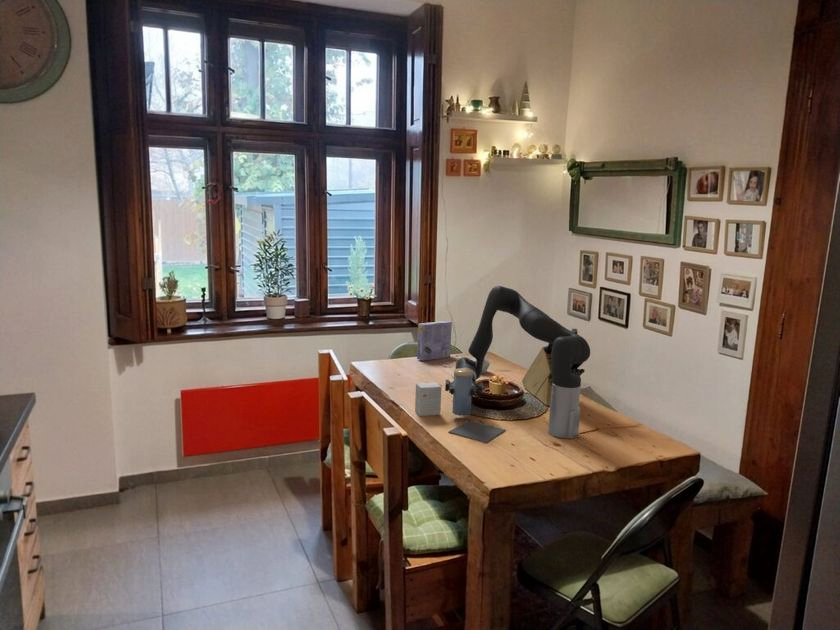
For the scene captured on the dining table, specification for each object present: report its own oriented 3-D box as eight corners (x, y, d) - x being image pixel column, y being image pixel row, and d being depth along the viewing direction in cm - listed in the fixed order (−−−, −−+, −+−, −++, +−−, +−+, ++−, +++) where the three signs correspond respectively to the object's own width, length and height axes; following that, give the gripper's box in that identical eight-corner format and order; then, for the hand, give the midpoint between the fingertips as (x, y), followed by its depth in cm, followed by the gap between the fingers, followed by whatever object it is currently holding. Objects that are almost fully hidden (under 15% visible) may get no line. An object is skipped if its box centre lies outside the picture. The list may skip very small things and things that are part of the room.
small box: (435, 409, 229) (436, 381, 228) (440, 414, 224) (442, 386, 222) (414, 411, 227) (415, 383, 225) (419, 416, 222) (420, 387, 220)
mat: (505, 430, 211) (505, 429, 211) (486, 443, 200) (486, 441, 200) (469, 421, 219) (469, 420, 219) (448, 432, 207) (448, 431, 207)
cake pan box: (445, 354, 313) (447, 319, 310) (452, 356, 309) (454, 321, 306) (415, 359, 301) (417, 323, 298) (422, 361, 297) (424, 325, 294)
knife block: (555, 415, 229) (562, 332, 224) (520, 386, 263) (526, 314, 258) (584, 414, 232) (591, 332, 226) (546, 386, 266) (551, 314, 260)
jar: (474, 412, 222) (476, 370, 219) (465, 417, 216) (467, 374, 214) (458, 408, 225) (459, 367, 223) (448, 413, 220) (450, 371, 217)
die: (483, 377, 277) (495, 359, 279) (467, 366, 278) (479, 348, 280) (481, 378, 285) (492, 361, 287) (465, 368, 286) (476, 350, 288)
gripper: (446, 368, 234) (441, 380, 218) (485, 371, 232) (483, 383, 216) (446, 387, 235) (440, 401, 219) (484, 390, 233) (482, 404, 217)
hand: (462, 392), depth 217 cm, fingers closed on jar, 6 cm apart
